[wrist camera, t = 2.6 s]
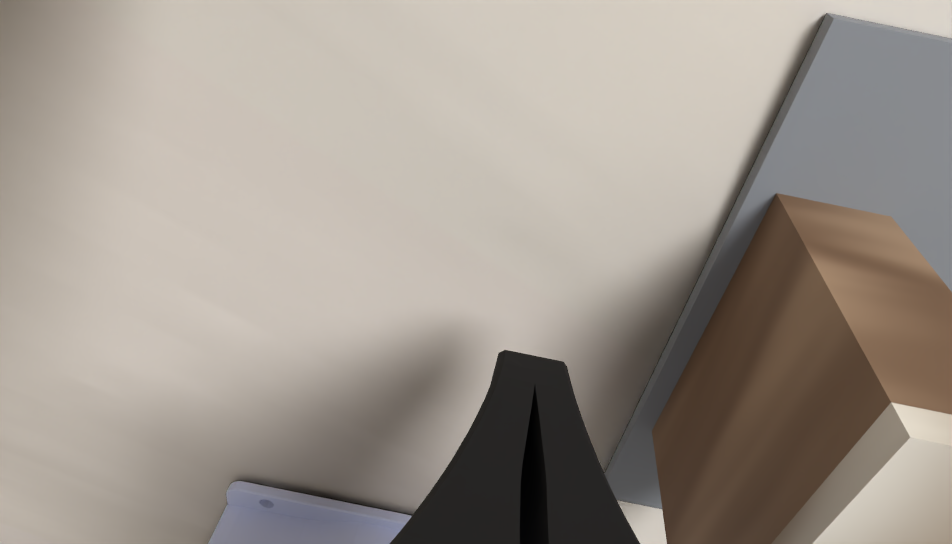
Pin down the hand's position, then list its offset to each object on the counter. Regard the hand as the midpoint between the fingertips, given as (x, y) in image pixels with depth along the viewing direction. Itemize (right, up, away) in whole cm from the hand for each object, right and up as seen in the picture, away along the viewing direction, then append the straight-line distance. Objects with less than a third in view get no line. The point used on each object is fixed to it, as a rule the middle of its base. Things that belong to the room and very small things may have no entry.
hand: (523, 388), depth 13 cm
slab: (+6, +1, +3) cm, 7 cm away
